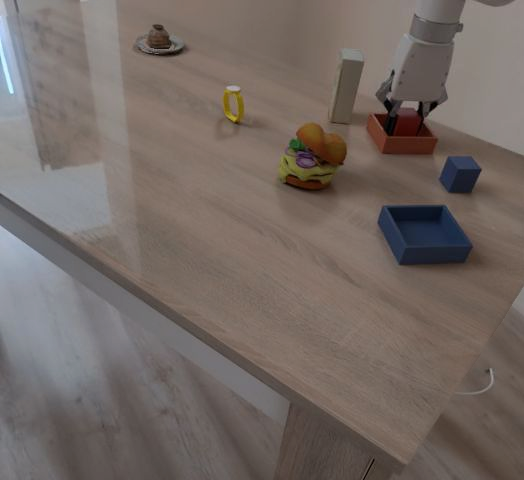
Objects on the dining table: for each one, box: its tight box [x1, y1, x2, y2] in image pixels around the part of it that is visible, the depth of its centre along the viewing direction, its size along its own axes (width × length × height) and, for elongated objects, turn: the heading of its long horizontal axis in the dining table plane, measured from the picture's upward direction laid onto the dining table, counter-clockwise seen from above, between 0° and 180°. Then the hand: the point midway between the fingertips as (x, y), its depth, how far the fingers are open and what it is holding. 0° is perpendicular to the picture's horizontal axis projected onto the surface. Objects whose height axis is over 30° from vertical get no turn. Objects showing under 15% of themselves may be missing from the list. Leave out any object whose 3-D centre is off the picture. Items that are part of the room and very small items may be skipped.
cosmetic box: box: [328, 46, 365, 125], centre depth 97 cm, size 6×4×12 cm
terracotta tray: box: [366, 112, 439, 155], centre depth 96 cm, size 11×11×3 cm
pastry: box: [134, 23, 185, 55], centre depth 117 cm, size 12×12×5 cm
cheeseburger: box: [277, 121, 348, 190], centre depth 82 cm, size 10×11×10 cm
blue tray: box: [377, 204, 474, 266], centre depth 74 cm, size 11×11×3 cm
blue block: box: [438, 155, 483, 194], centre depth 85 cm, size 4×4×4 cm
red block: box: [393, 106, 422, 137], centre depth 94 cm, size 4×4×4 cm
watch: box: [222, 85, 245, 123], centre depth 94 cm, size 6×3×6 cm, turn 34°
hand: (400, 133), depth 96 cm, fingers closed on red block, 4 cm apart
